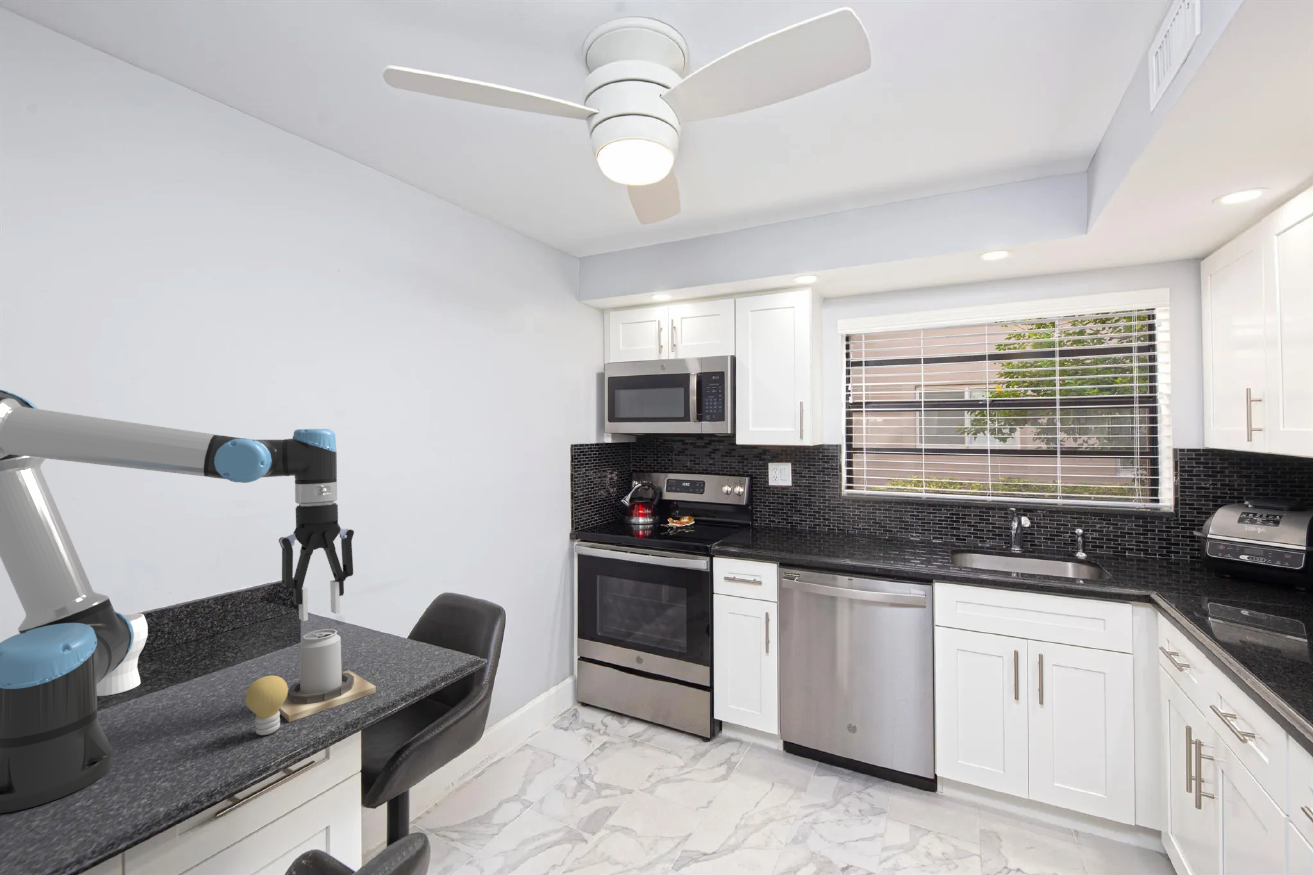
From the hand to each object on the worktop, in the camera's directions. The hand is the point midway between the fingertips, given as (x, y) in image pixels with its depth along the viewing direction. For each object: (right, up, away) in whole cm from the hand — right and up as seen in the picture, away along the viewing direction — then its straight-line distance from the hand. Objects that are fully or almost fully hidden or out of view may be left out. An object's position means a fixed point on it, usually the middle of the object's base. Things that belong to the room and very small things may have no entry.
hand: (319, 615), depth 119 cm
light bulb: (-1, -17, -14) cm, 22 cm away
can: (0, -16, 0) cm, 16 cm away
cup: (-48, -18, +7) cm, 52 cm away
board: (0, -17, 0) cm, 17 cm away
